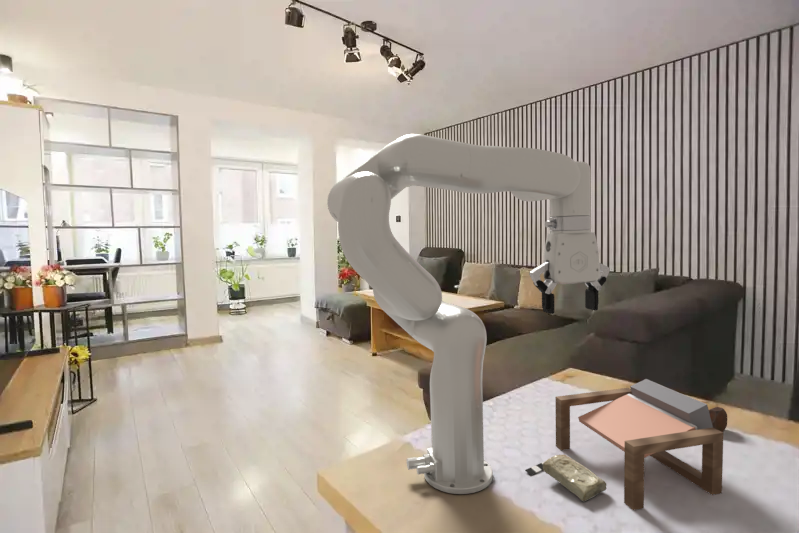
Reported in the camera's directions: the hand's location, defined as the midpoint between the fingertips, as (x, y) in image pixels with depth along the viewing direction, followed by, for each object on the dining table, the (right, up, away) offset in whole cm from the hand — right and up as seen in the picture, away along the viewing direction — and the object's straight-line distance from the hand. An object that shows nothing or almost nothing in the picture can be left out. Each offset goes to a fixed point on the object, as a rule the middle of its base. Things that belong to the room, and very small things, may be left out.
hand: (570, 311), depth 89 cm
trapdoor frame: (+9, -29, -6) cm, 31 cm away
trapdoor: (+12, -22, -6) cm, 26 cm away
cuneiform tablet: (-8, -28, -12) cm, 31 cm away
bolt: (+32, -27, +13) cm, 43 cm away
